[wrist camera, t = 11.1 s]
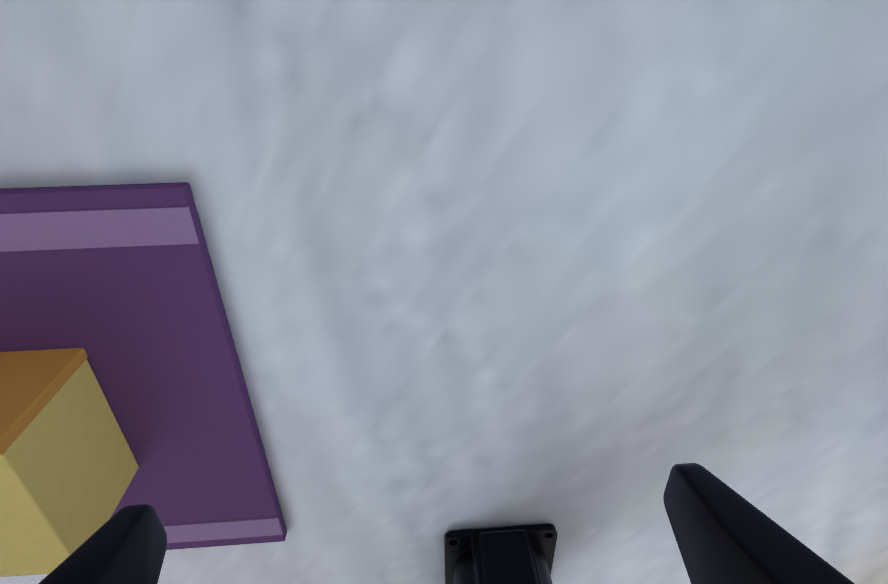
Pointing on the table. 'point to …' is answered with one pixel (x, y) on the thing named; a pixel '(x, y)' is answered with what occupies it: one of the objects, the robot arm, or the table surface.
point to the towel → (144, 346)
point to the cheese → (55, 458)
